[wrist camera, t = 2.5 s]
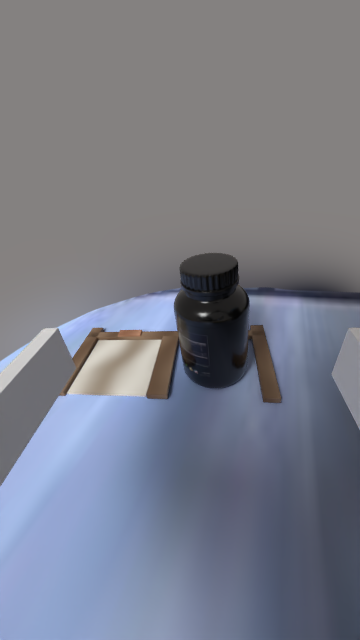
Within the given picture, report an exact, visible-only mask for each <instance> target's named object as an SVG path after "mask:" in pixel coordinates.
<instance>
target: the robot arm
mask: <svg viewBox="0 0 360 640" xmlns="http://www.w3.org/2000/svg"><path fill="white" fill-rule="evenodd" d="M75 369H76V366H75V364H74V362H73V359H72V357H71V355H70V353H69V351H68V349H67V346H66V344H65V342H64V340H63V338H62V336H61V334H60V331H59V329H58V328H44V329H43V330H42V331H41V332H40V333H39V334H38V335H37V336H36V337H35V338H34V339H33V340H32V341H31V342H30V343H29V344H28V345H27V346H26V347H25V348H24V350H23V351H22V352H21V353H20V354H19V355H18V356H17V357H16V358H15V359H14V360H13V361H12V362H11V363H10V364H9V365H8V366H7V367H6V368H5V369H4V370H3V371H2V372H1V373H0V486H1V485H2V483H3V482H4V480H5V479H6V477H7V475H8V474H9V472H10V471H11V469H12V468H13V466H14V464H15V463H16V461H17V460H18V458H19V457H20V455H21V454H22V452H23V450H24V449H25V447H26V446H27V444H28V443H29V441H30V440H31V438H32V436H33V435H34V433H35V432H36V430H37V429H38V427H39V426H40V424H41V422H42V421H43V419H44V418H45V416H46V415H47V413H48V412H49V410H50V408H51V407H52V405H53V404H54V402H55V401H56V399H57V397H58V396H59V394H60V393H61V391H62V390H63V388H64V387H65V385H66V383H67V382H68V380H69V379H70V377H71V376H72V374H73V373H74V371H75ZM331 375H332V377H333V379H334V381H335V383H336V385H337V387H338V389H339V391H340V392H341V394H342V396H343V398H344V400H345V402H346V404H347V406H348V408H349V410H350V412H351V414H352V416H353V418H354V420H355V422H356V424H357V426H358V428H359V430H360V328H348V331H347V333H346V336H345V339H344V341H343V344H342V347H341V350H340V352H339V355H338V358H337V360H336V363H335V366H334V369H333V371H332V374H331Z"/></svg>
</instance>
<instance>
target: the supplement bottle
mask: <svg viewBox="0 0 360 640" xmlns="http://www.w3.org/2000/svg"><path fill="white" fill-rule="evenodd" d="M180 276H181V287H182V290H181V291H180V292H179V293H178V295H177V296H176V298H175V302H174V313H175V319H176V324H177V330H178V336H179V342H180V348H181V354H182V360H183V365H184V369H185V372H186V374H187V375H188V377H189V378H190V379H191V380H192V381H193V382H195V383H196V384H198V385H201V386H203V387H207V388H223V387H227V386H230V385H232V384H234V383H236V382H237V381H238V380H240V379H241V378H242V376H243V375H244V373H245V371H246V368H247V357H248V332H249V306H250V305H249V297H248V295H247V293H246V291H245V290H244V289H243V288H242V287H241V286H240V285H238V284H239V275H238V262H237V260H236V258H235V257H233V256H231V255H228V254H223V253H205V254H199V255H195V256H192V257H190V258H187V259H186V260H184V262H182V264H181V265H180Z"/></svg>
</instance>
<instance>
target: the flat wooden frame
mask: <svg viewBox="0 0 360 640" xmlns="http://www.w3.org/2000/svg"><path fill="white" fill-rule="evenodd" d="M248 339H252V342H253V348H254V353H255V359H256V364H257V370H258V375H259V381H260V386H261V392H262V398H263V402H269V403H281V395H280V391H279V387H278V383H277V379H276V375H275V371H274V367H273V364H272V360H271V356H270V352H269V348H268V344H267V340H266V336H265V332H264V328H263V325H250V330H249V332H248ZM98 340H99V341H98ZM178 342H179V336H178V331H157V332H142V330H120V332H104V330H103V328H93V329H92V330H91V332H90V333H89V335H88V336H87V337H86V339H85V340H84V342H83V343H82V345H81V346H80V348H79V349H78V351H77V352H76V354H75V355H74V357H73V358H72V359H73V362H74V364H75V366H76V369H75V371H74V373H73V374H72V376H71V377H70V379H69V380H68V382H67V383H66V385H65V387H64V388H63V390H62V391H61V393H60V394H59V395H61V396H65V395H66V393H67V394H79V395H110V396H141V397H146V395H147V398H150V399H167V398H168V393H169V388H170V383H171V378H172V373H173V368H174V363H175V357H176V352H177V347H178ZM95 345H96V346H95ZM92 350H93V351H92ZM89 355H90V356H89ZM86 360H87V361H86ZM83 365H84V366H83ZM81 368H82V369H81ZM80 370H81V371H80ZM78 373H79V374H78ZM77 375H78V376H77ZM75 378H76V379H75ZM74 380H75V381H74ZM72 383H73V384H72ZM69 388H70V389H69Z"/></svg>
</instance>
